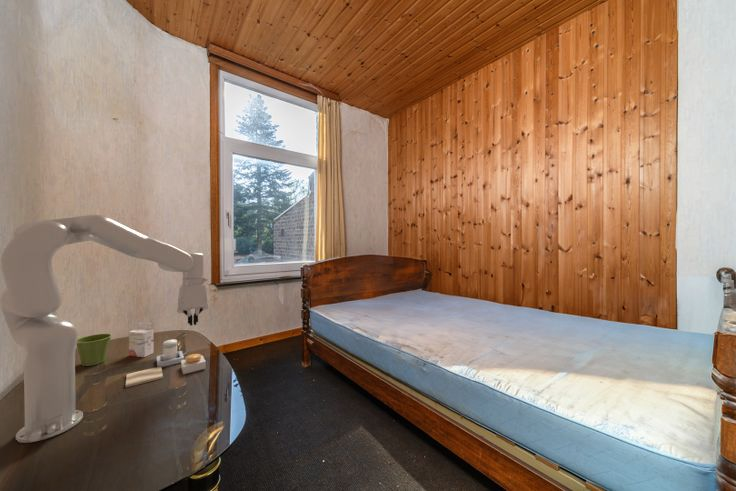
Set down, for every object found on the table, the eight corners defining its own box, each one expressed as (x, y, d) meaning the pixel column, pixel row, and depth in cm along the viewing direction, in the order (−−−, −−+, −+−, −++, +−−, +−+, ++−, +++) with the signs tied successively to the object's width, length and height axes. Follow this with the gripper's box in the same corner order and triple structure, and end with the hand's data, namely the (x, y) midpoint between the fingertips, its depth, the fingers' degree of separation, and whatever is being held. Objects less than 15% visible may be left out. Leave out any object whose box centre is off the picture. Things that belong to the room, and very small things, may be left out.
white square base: (205, 368, 114) (205, 361, 114) (183, 374, 109) (183, 367, 109) (202, 361, 120) (202, 355, 120) (180, 367, 115) (180, 360, 115)
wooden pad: (162, 378, 106) (162, 376, 106) (125, 387, 99) (125, 385, 99) (161, 367, 114) (161, 366, 114) (126, 376, 107) (126, 374, 107)
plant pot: (117, 360, 121) (117, 335, 121) (81, 371, 111) (81, 344, 111) (105, 355, 126) (104, 331, 126) (69, 365, 116) (68, 339, 115)
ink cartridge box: (128, 356, 125) (127, 325, 125) (138, 352, 130) (137, 322, 130) (144, 357, 125) (144, 326, 124) (154, 353, 129) (154, 322, 129)
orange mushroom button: (202, 366, 114) (201, 356, 114) (186, 370, 111) (186, 360, 111) (199, 362, 119) (199, 352, 119) (184, 365, 115) (184, 356, 115)
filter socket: (184, 361, 120) (184, 357, 120) (157, 368, 114) (157, 363, 114) (181, 354, 128) (181, 350, 128) (156, 360, 121) (156, 356, 121)
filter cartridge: (177, 361, 121) (177, 341, 120) (163, 364, 117) (163, 344, 117) (176, 357, 125) (176, 338, 124) (162, 360, 121) (162, 341, 121)
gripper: (211, 279, 122) (211, 319, 122) (170, 282, 112) (170, 325, 112) (215, 281, 116) (214, 323, 116) (171, 284, 106) (171, 330, 107)
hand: (192, 324), depth 114 cm, fingers closed
